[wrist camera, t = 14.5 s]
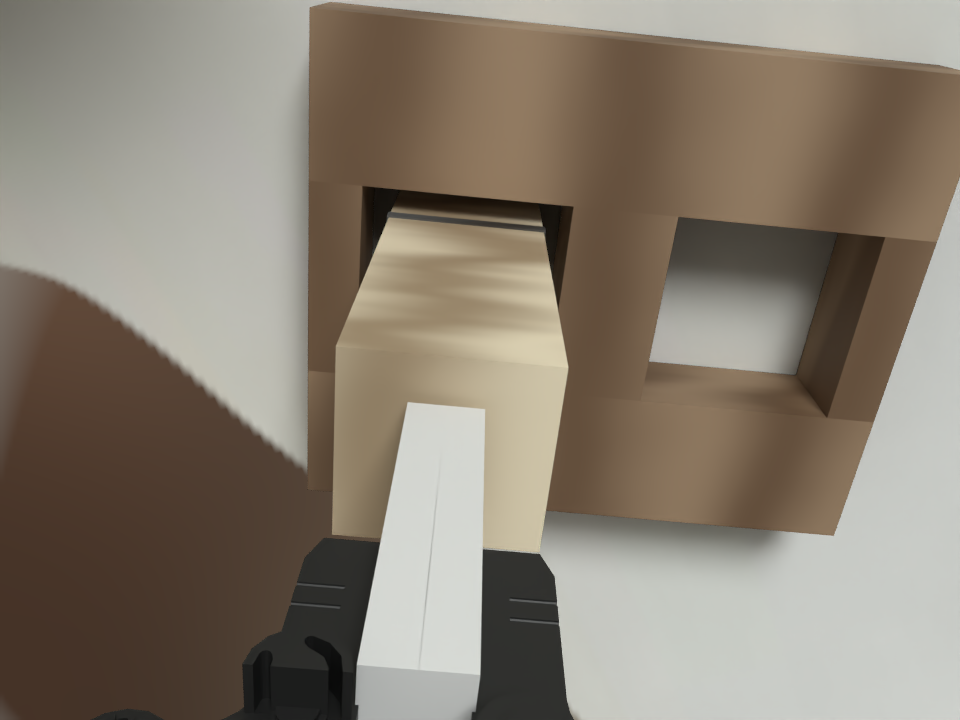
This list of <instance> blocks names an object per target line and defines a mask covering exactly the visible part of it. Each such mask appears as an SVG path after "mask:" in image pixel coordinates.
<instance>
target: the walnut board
mask: <svg viewBox="0 0 960 720" xmlns="http://www.w3.org/2000/svg"><path fill="white" fill-rule="evenodd" d="M959 178H960V70H957V69H952V68H948V67H944V66H940V65H931V64H921V63H912V62H902V61H893V60H883V59H873V58H864V57H854V56H845V55H835V54H825V53H816V52H806V51H796V50H787V49H777V48H768V47H758V46H748V45H739V44H729V43H719V42H710V41H700V40H691V39H681V38H671V37H662V36H652V35H642V34H633V33H623V32H614V31H604V30H594V29H585V28H575V27H566V26H556V25H546V24H537V23H527V22H517V21H508V20H498V19H489V18H479V17H469V16H460V15H450V14H440V13H431V12H421V11H412V10H402V9H392V8H383V7H373V6H363V5H354V4H344V3H335V2H329V3H325V4H321V5H317V6H313V7H310V38H309V264H308V490H317V491H329V492H333V461H334V412H335V363H336V345H337V342H338V340H339V337H340V335H341V332H342V330H343V328H344V325H345V323H346V320H347V318H348V315H349V313H350V311H351V308H352V306H353V303H354V301H355V298H356V296H357V293H358V291H359V289H360V286H361V284H362V281H363V279H364V276H365V274H366V271H367V269H368V267H369V264H370V262H371V259H372V249H373V224H374V199H375V187H379V188H389V189H399V190H409V191H419V192H430V193H440V194H450V195H460V196H471V197H481V198H491V199H501V200H511V201H522V202H532V203H542V204H552V205H562V210H561V217H560V224H559V231H558V238H557V245H556V252H555V259H554V266H553V273H552V280H553V285H554V291H555V296H556V302H557V307H558V313H559V318H560V324H561V329H562V335H563V340H564V346H565V351H566V357H567V362H568V374H567V381H566V387H565V393H564V399H563V406H562V412H561V418H560V425H559V431H558V437H557V444H556V450H555V456H554V462H553V469H552V475H551V481H550V488H549V494H548V500H547V507H546V511H558V512H569V513H581V514H592V515H603V516H615V517H626V518H638V519H649V520H661V521H672V522H683V523H695V524H706V525H718V526H729V527H741V528H752V529H764V530H775V531H786V532H798V533H809V534H821V535H832V536H834V533H835V531H836V528H837V525H838V522H839V519H840V516H841V514H842V511H843V508H844V505H845V502H846V499H847V496H848V494H849V491H850V488H851V485H852V482H853V479H854V477H855V474H856V471H857V468H858V465H859V462H860V459H861V457H862V454H863V451H864V448H865V445H866V442H867V440H868V437H869V434H870V431H871V428H872V425H873V422H874V420H875V417H876V414H877V411H878V408H879V405H880V403H881V400H882V397H883V394H884V391H885V388H886V385H887V383H888V380H889V377H890V374H891V371H892V368H893V366H894V363H895V360H896V357H897V354H898V351H899V348H900V346H901V343H902V340H903V337H904V334H905V331H906V329H907V326H908V323H909V320H910V317H911V314H912V311H913V309H914V306H915V303H916V300H917V297H918V294H919V292H920V289H921V286H922V283H923V280H924V277H925V274H926V272H927V269H928V266H929V263H930V260H931V257H932V255H933V252H934V249H935V246H936V243H937V240H938V237H939V235H940V232H941V229H942V226H943V223H944V220H945V218H946V215H947V212H948V209H949V206H950V203H951V200H952V198H953V195H954V192H955V189H956V186H957V183H958V181H959ZM678 217H685V218H695V219H706V220H716V221H726V222H736V223H746V224H757V225H767V226H777V227H787V228H798V229H808V230H818V231H828V232H838V235H837V239H836V242H835V246H834V249H833V252H832V256H831V259H830V262H829V266H828V269H827V273H826V276H825V279H824V283H823V286H822V290H821V293H820V296H819V300H818V303H817V306H816V310H815V313H814V317H813V320H812V323H811V327H810V330H809V334H808V337H807V340H806V344H805V347H804V350H803V354H802V357H801V361H800V364H799V367H798V371H797V374H796V375H787V374H776V373H765V372H754V371H743V370H733V369H722V368H711V367H700V366H690V365H679V364H668V363H657V362H649V358H650V353H651V348H652V343H653V338H654V333H655V328H656V324H657V319H658V314H659V309H660V304H661V299H662V294H663V290H664V285H665V280H666V275H667V270H668V265H669V260H670V255H671V251H672V246H673V241H674V236H675V231H676V226H677V221H678Z"/></svg>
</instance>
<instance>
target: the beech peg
mask: <svg viewBox="0 0 960 720" xmlns="http://www.w3.org/2000/svg"><path fill="white" fill-rule="evenodd" d="M545 234H546V229H545V227H543V225H542V219H541V214H540V208H539V203H532V202H522V201H511V200H501V199H491V198H481V197H471V196H460V195H450V194H440V193H430V192H419V191H409V190H400V191H399V193H398V196H397V198H396V201H395V203H394V206H393V208H392V211H391V212H388V214H387V223H386V225H385V228H384V230H383V232H382V235H381V237H380V240H379V242H378V245H377V247H376V250H375V252H374V254H373V257H372V259H371V262H370V264H369V267H368V269H367V271H366V274H365V276H364V279H363V281H362V284H361V286H360V289H359V291H358V293H357V296H356V298H355V301H354V303H353V306H352V308H351V311H350V313H349V315H348V318H347V320H346V323H345V325H344V328H343V330H342V332H341V335H340V337H339V340H338V342H337V345H336V363H335V412H334V461H333V510H332V511H333V512H332V535H344V536H355V537H367V538H379V539H381V537H382V532H383V527H384V522H385V516H386V511H387V506H388V501H389V496H390V491H391V485H392V480H393V475H394V470H395V465H396V460H397V454H398V449H399V444H400V439H401V434H402V429H403V423H404V418H405V413H406V408H407V403H408V402H412V403H423V404H434V405H445V406H456V407H467V408H478V409H485V446H484V501H483V548H495V549H506V550H518V551H530V552H539V551H540V544H541V538H542V532H543V525H544V519H545V513H546V507H547V500H548V494H549V488H550V481H551V475H552V469H553V462H554V456H555V450H556V444H557V437H558V431H559V425H560V418H561V412H562V406H563V399H564V393H565V387H566V381H567V374H568V362H567V357H566V351H565V346H564V340H563V335H562V329H561V324H560V318H559V313H558V307H557V302H556V296H555V291H554V285H553V280H552V274H551V269H550V263H549V258H548V252H547V247H546V241H545Z"/></svg>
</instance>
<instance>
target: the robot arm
mask: <svg viewBox="0 0 960 720" xmlns="http://www.w3.org/2000/svg"><path fill="white" fill-rule="evenodd" d="M484 446H485V409H478V408H467V407H456V406H445V405H434V404H423V403H412V402H408V403H407V408H406V413H405V418H404V423H403V429H402V434H401V439H400V444H399V449H398V454H397V460H396V465H395V470H394V475H393V480H392V485H391V491H390V496H389V501H388V506H387V511H386V516H385V522H384V527H383V532H382V537H381V542H380V543H379V542H366V541H355V540H344V539H332V538H324V539H323V540H322V541H321V542H320V543H319V544H318V545H317V546H316V547H315V548H314V549H313V550H312V551H311V552H310V553H309V554H308V555H307V556H306V557H305V559H304V562H303V565H302V569H301V571H300V574H299V578H298V581H297V586H296V587H295V590H294V593H293V597H292V600H291V606H289V609H288V613H287V616H286V619H285V622H284V625H283V629H282V631H281V632H279V633H276V634H273V635H270V636H268V637H267V638H265V639H264V640H263V641H262V642H260V643H259V644H257V645H256V646H255V647H253V648H252V649H251V651H250V653H249V654H248V656H247V657H246V659H245V661H244V662H243V690H244V708H242V709H241V710H240V711H238V712H236V713H234V714H232V715H230V716H229V717H227V718H225V719H222V720H574V719H573V717H572V715H571V714H570V711H569V707H568V703H567V698H566V688H565V678H564V668H563V657H562V647H561V637H560V627H559V617H558V607H557V597H556V587H555V577H554V575H553V574H552V572H551V571H550V569H549V568H548V566H547V564H546V563H545V561H544V560H543V558H542V557H541V555H540V554H531V553H520V552H508V551H496V550H485V549H483V501H484ZM92 720H163V719H162V718H160V717H158V716H156V715H154V714H152V713H151V712H149V711H142V710H133V709H124V710H120V711H114V712H109V713H104V714H102V715H100V716H98V717H96V718H94V719H92Z"/></svg>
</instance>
